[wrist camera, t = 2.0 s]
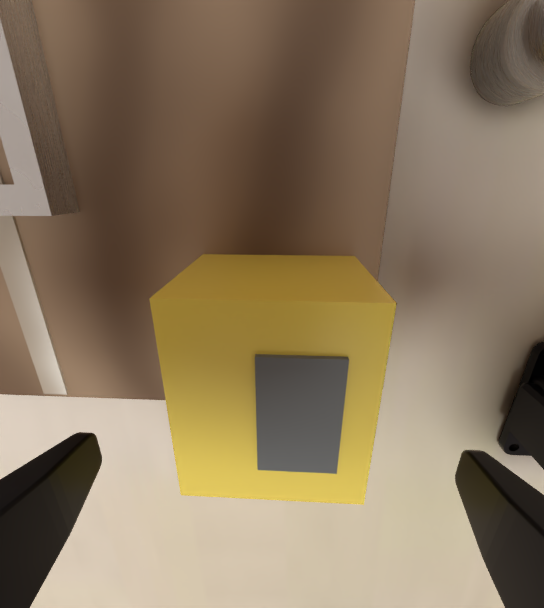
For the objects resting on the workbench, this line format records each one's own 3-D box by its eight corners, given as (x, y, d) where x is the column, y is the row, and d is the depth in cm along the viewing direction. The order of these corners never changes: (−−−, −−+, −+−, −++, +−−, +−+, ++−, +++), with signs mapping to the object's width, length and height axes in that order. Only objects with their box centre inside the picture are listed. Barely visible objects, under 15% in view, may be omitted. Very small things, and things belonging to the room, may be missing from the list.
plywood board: (406, -22, 10) (423, -51, 8) (355, 391, 16) (360, 408, 14) (-174, -3, 11) (-234, -26, 9) (-15, 378, 17) (-39, 394, 15)
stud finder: (354, 255, 12) (398, 305, 7) (339, 401, 14) (364, 509, 10) (202, 254, 12) (146, 300, 7) (214, 396, 15) (179, 499, 10)
